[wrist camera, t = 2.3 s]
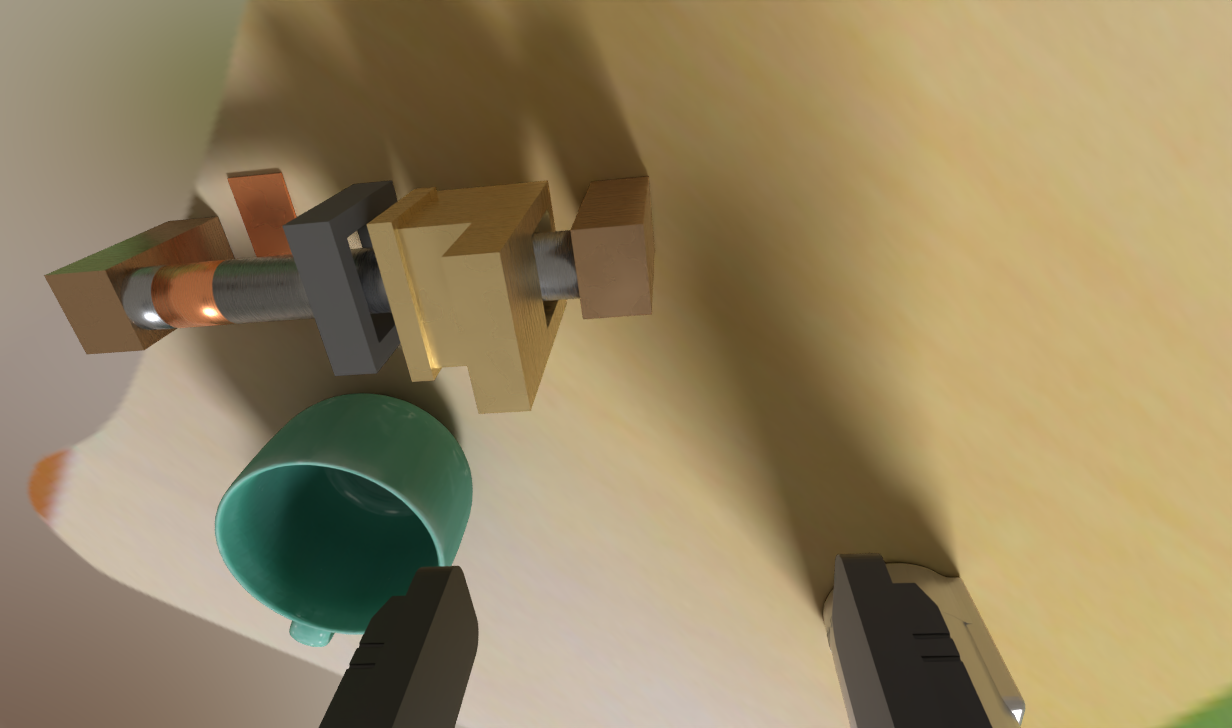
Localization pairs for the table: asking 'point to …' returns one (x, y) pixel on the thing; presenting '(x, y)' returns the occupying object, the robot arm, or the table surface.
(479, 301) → the tan notched block
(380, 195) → the dark grey square plate
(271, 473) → the mug
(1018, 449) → the table surface
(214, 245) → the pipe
